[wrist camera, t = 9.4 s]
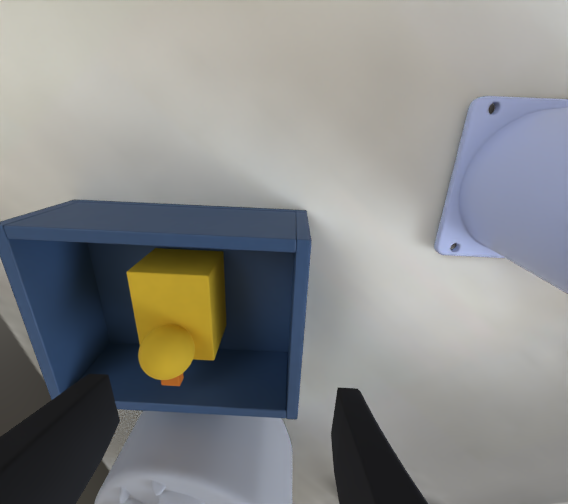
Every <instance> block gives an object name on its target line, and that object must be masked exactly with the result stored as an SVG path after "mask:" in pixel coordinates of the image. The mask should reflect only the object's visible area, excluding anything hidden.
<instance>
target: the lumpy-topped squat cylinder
mask: <svg viewBox="0 0 568 504" xmlns="http://www.w3.org/2000/svg"><path fill="white" fill-rule="evenodd" d="M95 504H292V445H291V441H290V438H289V435H288V432H287V429H286V427H285V424H284V422H283V420H282V418H268V417H250V416H232V415H214V414H196V413H178V412H160V411H142V413H141V415H140V417H139V419H138V421H137V422H136V424H135V426H134V428H133V430H132V432H131V433H130V435H129V437H128V439H127V441H126V443H125V444H124V446H123V448H122V450H121V452H120V454H119V455H118V457H117V459H116V461H115V463H114V465H113V466H112V468H111V470H110V472H109V474H108V476H107V478H106V479H105V481H104V484H103V485H102V487H101V489H100V491H99V493H98V495H97V497H96V500H95Z"/></svg>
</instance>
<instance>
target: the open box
mask: <svg viewBox="0 0 568 504" xmlns="http://www.w3.org/2000/svg"><path fill="white" fill-rule="evenodd" d="M155 248H165V249H186V250H206V251H223V254H224V277H225V301H226V324H227V325H226V328H225V331H224V334H223V337H222V339H221V342H220V345H219V348H218V351H217V354H216V356H215V359H214V360H195V359H193V360H192V362H191V364H190V366H189V367H188V368H187V370H186V371H184V372H183V376H184V378H183V381H182V383H181V385H180V386H166V385H161V380H158V379H154V378H152V377H150V376H148V375H147V374H146V373H145V372H144V371H143V370H142V368H141V366H140V363H139V359H138V352H139V348H140V343H139V338H138V332H137V327H136V321H135V316H134V311H133V305H132V300H131V294H130V289H129V283H128V278H127V271H128V270H129V269H131V268H132V267H133V266H134V265H135V264H137V263H138V262H139V261H140V260H142V259H143V258H144V257H145V256H146V255H148V254H149V253H150V252H151V251H152V250H154V249H155ZM310 253H311V235H310V229H309V223H308V217H307V212H306V210H289V209H267V208H245V207H224V206H202V205H180V204H158V203H136V202H115V201H93V200H71V201H69V202H65V203H62V204H58V205H55V206H51V207H48V208H45V209H41V210H38V211H35V212H31V213H28V214H24V215H21V216H18V217H14V218H11V219H8V220H4V221H1V222H0V257H1V260H2V263H3V266H4V268H5V271H6V274H7V277H8V280H9V282H10V285H11V288H12V291H13V293H14V296H15V299H16V302H17V305H18V307H19V310H20V313H21V316H22V319H23V321H24V324H25V327H26V330H27V332H28V335H29V338H30V341H31V344H32V346H33V349H34V352H35V355H36V358H37V360H38V363H39V366H40V369H41V372H42V374H43V377H44V380H45V383H46V385H47V388H48V391H49V394H50V397H51V399H52V400H53V399H54V398H55V397H57V396H58V395H60V394H61V393H62V392H64V391H65V390H67V389H68V388H69V387H71V386H72V385H73V384H75V383H76V382H78V381H79V380H81V379H82V378H84V377H85V376H86V375H88V374H106V375H109V379H110V383H111V387H112V391H113V395H114V399H115V403H116V407H117V409H124V410H142V411H160V412H178V413H196V414H214V415H232V416H250V417H268V418H287V419H297V416H298V404H299V391H300V379H301V366H302V354H303V341H304V328H305V316H306V303H307V291H308V278H309V266H310Z"/></svg>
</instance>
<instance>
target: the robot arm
mask: <svg viewBox="0 0 568 504" xmlns="http://www.w3.org/2000/svg"><path fill="white" fill-rule="evenodd" d="M492 103H493V104H494V106H495V110H494V111H493V113H492V114H490V113H489V111H488V109H489V106H490V105H491V104H492ZM454 243H456V247H455V248H454V249H450V247H451V245H452V244H454ZM434 248H435V250H436V251H437V252H438V253H439V254H441V255H454V256H475V257H496V258H507V259H508V260H510V261H512V262H514V263H515V264H517V265H519V266H520V267H522V268H524V269H526V270H527V271H529V272H531V273H533V274H534V275H536V276H538V277H539V278H541V279H543V280H545V281H546V282H548V283H550V284H551V285H553V286H555V287H557V288H558V289H560V290H562V291H563V292H565V293H567V294H568V99H550V98H525V97H501V96H483V97H478V98H476V99H474V100H473V101H472V103H471V104H470V106H469V109H468V113H467V117H466V121H465V125H464V129H463V133H462V136H461V140H460V144H459V148H458V152H457V156H456V160H455V164H454V168H453V172H452V176H451V180H450V184H449V188H448V192H447V196H446V200H445V204H444V208H443V212H442V216H441V220H440V224H439V228H438V232H437V236H436V240H435V244H434ZM119 421H120V420H119V416H118V411H117V407H116V403H115V399H114V395H113V391H112V387H111V383H110V379H109V375H106V374H88V375H86V376H85V377H84V378H82V379H81V380H79V381H78V382H76V383H75V384H73V385H72V386H71V387H69V388H68V389H67V390H65V391H64V392H62V393H61V394H60V395H58V396H57V397H55V398H54V399H53V400H51V401H50V402H49V403H47V404H46V405H44V406H43V407H42V408H40V409H39V410H37V411H36V412H35V413H33V414H32V415H30V416H29V417H28V418H26V419H25V420H23V421H22V422H21V423H19V424H18V425H16V426H15V427H14V428H12V429H11V430H9V431H8V432H7V433H5V434H4V435H2V436H1V437H0V504H76V502H77V501H78V499H79V497H80V496H81V494H82V492H83V491H84V489H85V487H86V485H87V484H88V482H89V480H90V479H91V477H92V475H93V474H94V472H95V470H96V468H97V467H98V465H99V463H100V462H101V460H102V458H103V456H104V454H105V452H106V450H107V448H108V446H109V444H110V442H111V439H112V437H113V435H114V433H115V430H116V428H117V426H118V424H119ZM331 438H332V451H333V463H334V473H335V480H336V486H337V492H338V498H339V504H428V503H427V501H426V500H425V498H424V497H423V495H422V494H421V492H420V491H419V489H418V488H417V486H416V485H415V483H414V482H413V480H412V479H411V477H410V476H409V474H408V473H407V471H406V470H405V468H404V467H403V465H402V463H401V462H400V460H399V459H398V457H397V455H396V454H395V452H394V451H393V449H392V447H391V446H390V444H389V442H388V441H387V439H386V437H385V436H384V434H383V432H382V431H381V429H380V427H379V425H378V424H377V422H376V420H375V418H374V416H373V415H372V413H371V411H370V409H369V407H368V405H367V403H366V402H365V400H364V398H363V396H362V394H361V392H360V391H359V390H358V389H353V388H338V390H337V397H336V404H335V411H334V417H333V424H332V431H331Z"/></svg>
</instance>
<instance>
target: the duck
mask: <svg viewBox="0 0 568 504" xmlns="http://www.w3.org/2000/svg"><path fill="white" fill-rule="evenodd" d="M127 278H128V283H129V289H130V294H131V300H132V305H133V311H134V316H135V321H136V327H137V332H138V338H139V343H140V348H139V352H138V359H139V363H140V366H141V368H142V370H143V371H144V372H145V373H146V374H147V375H148V376H150V377H152V378H154V379H158V380H161V385H166V386H180V385H181V383H182V381H183V378H184V376H183V372H184V371H186V370H187V368H188V367H189V366H190V364H191V362H192V360H193V359H195V360H214V359H215V356H216V354H217V351H218V348H219V345H220V342H221V339H222V337H223V334H224V331H225V328H226V325H227V324H226V301H225V277H224V254H223V251H206V250H186V249H165V248H155V249H154V250H152V251H151V252H150V253H149V254H148V255H146V256H145V257H144V258H143V259H142V260H140V261H139V262H138V263H137V264H135V265H134V266H133V267H132V268H131V269H129V270H128V271H127Z"/></svg>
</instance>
